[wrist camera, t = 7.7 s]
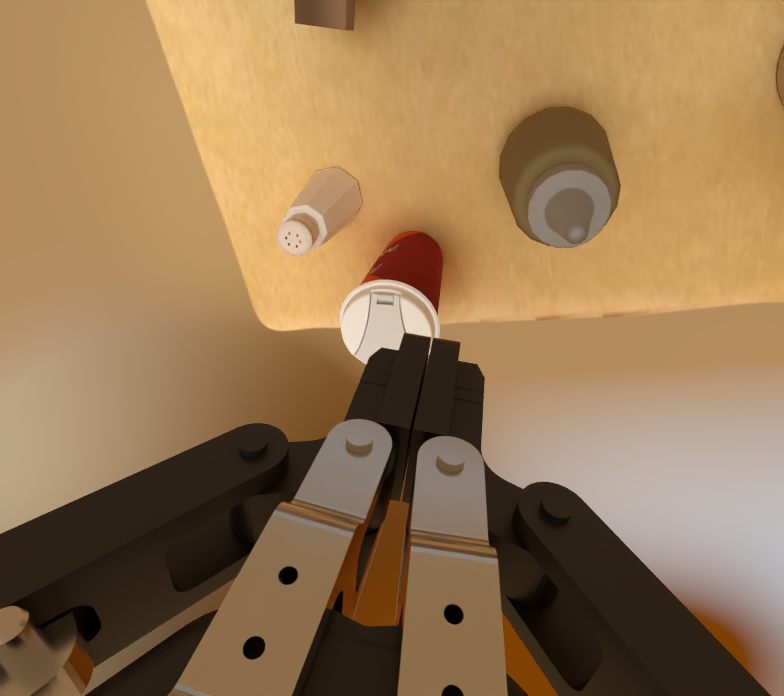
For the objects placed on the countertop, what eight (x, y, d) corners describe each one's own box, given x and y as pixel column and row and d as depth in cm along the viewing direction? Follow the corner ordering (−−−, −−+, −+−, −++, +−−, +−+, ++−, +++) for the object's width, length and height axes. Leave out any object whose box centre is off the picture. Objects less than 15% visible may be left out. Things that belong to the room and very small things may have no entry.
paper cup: (373, 217, 46) (330, 283, 34) (456, 222, 44) (440, 292, 33) (376, 292, 50) (338, 373, 39) (451, 298, 49) (435, 383, 37)
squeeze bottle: (625, 136, 38) (701, 209, 24) (556, 221, 43) (584, 327, 28) (541, 77, 37) (565, 116, 22) (479, 171, 42) (466, 254, 27)
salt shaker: (367, 173, 44) (332, 213, 35) (359, 230, 47) (324, 281, 38) (309, 159, 44) (259, 195, 35) (304, 216, 47) (257, 263, 38)
